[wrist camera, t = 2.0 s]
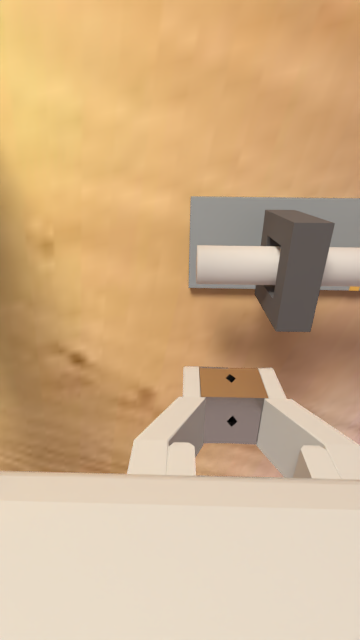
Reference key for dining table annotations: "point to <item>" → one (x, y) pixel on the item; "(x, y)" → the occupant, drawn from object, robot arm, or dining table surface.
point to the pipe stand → (262, 261)
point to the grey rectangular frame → (294, 268)
